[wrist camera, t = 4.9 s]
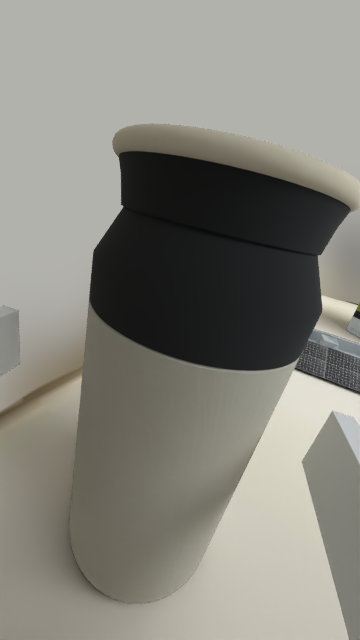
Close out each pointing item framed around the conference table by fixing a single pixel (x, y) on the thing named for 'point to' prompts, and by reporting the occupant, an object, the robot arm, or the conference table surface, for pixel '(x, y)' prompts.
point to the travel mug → (191, 341)
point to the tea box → (355, 323)
